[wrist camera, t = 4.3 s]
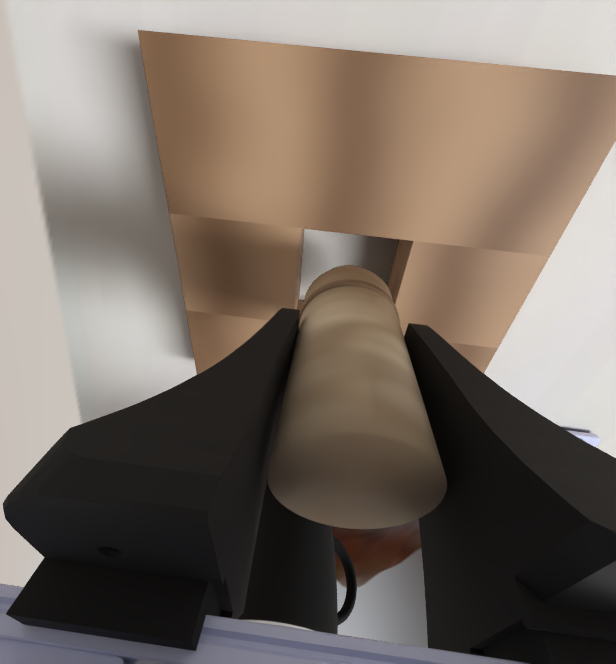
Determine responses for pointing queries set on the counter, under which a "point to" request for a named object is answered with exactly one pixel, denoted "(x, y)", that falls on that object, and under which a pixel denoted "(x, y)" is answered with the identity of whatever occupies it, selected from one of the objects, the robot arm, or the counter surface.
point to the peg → (354, 413)
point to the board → (367, 177)
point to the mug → (296, 572)
